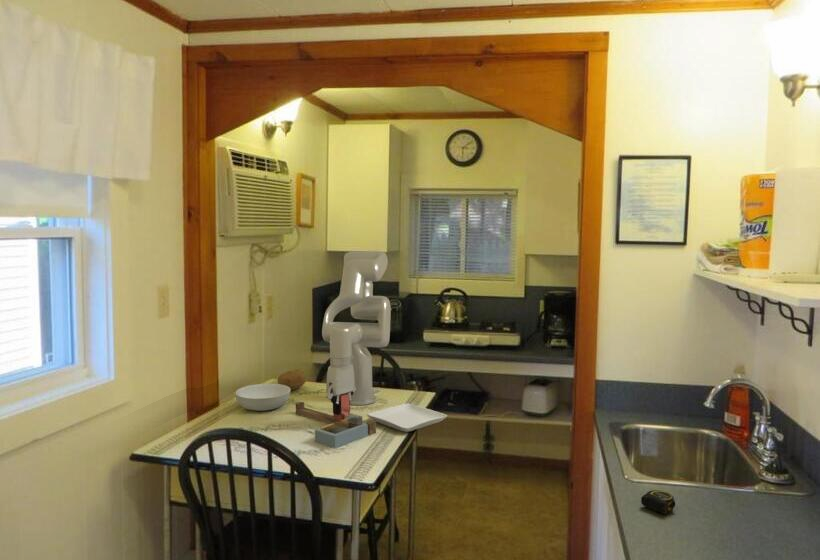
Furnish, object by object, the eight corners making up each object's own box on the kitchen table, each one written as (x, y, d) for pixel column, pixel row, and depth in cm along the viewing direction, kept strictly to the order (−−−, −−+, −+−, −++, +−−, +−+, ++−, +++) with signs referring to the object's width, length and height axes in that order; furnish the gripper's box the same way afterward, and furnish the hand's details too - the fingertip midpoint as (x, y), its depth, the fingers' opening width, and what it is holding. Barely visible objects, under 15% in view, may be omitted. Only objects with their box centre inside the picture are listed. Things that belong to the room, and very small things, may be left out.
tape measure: (639, 507, 160) (639, 493, 159) (655, 501, 164) (656, 486, 163) (663, 518, 154) (663, 503, 154) (680, 510, 158) (680, 496, 158)
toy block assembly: (341, 421, 227) (341, 391, 226) (364, 427, 220) (363, 397, 219) (305, 433, 214) (304, 402, 213) (327, 440, 207) (327, 408, 206)
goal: (347, 430, 219) (347, 418, 219) (367, 436, 213) (367, 424, 213) (314, 441, 207) (314, 429, 207) (335, 448, 201) (335, 436, 201)
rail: (301, 411, 240) (301, 401, 240) (375, 433, 216) (375, 421, 216) (295, 413, 238) (295, 403, 237) (369, 435, 214) (369, 423, 213)
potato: (271, 391, 269) (271, 372, 269) (295, 384, 281) (295, 366, 280) (287, 395, 264) (287, 376, 263) (311, 387, 275) (311, 369, 274)
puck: (340, 434, 215) (339, 426, 215) (353, 438, 211) (353, 429, 211) (327, 439, 210) (327, 430, 210) (341, 443, 207) (341, 434, 206)
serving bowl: (224, 412, 240) (223, 394, 240) (257, 398, 260) (256, 381, 259) (270, 418, 233) (270, 400, 232) (301, 403, 252) (300, 386, 251)
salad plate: (449, 423, 228) (449, 414, 227) (406, 437, 213) (406, 427, 212) (407, 410, 243) (407, 402, 242) (365, 423, 228) (365, 413, 228)
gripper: (350, 356, 231) (350, 405, 233) (315, 364, 218) (316, 416, 220) (365, 358, 226) (365, 409, 228) (330, 367, 213) (331, 420, 215)
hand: (341, 411), depth 224 cm, fingers closed on toy block assembly, 4 cm apart
